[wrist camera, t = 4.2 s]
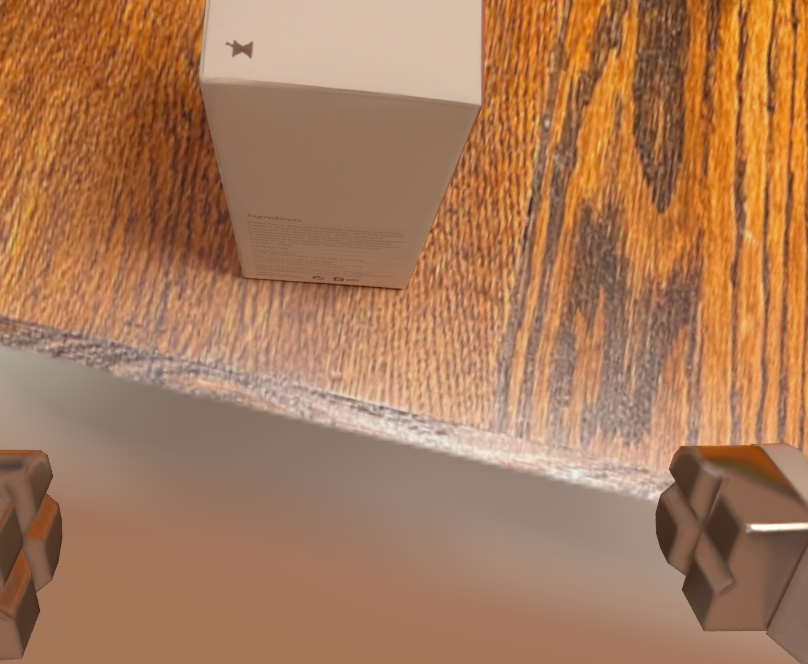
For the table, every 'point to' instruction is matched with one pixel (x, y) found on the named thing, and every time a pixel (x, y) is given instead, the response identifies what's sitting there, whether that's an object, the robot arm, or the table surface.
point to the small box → (339, 128)
